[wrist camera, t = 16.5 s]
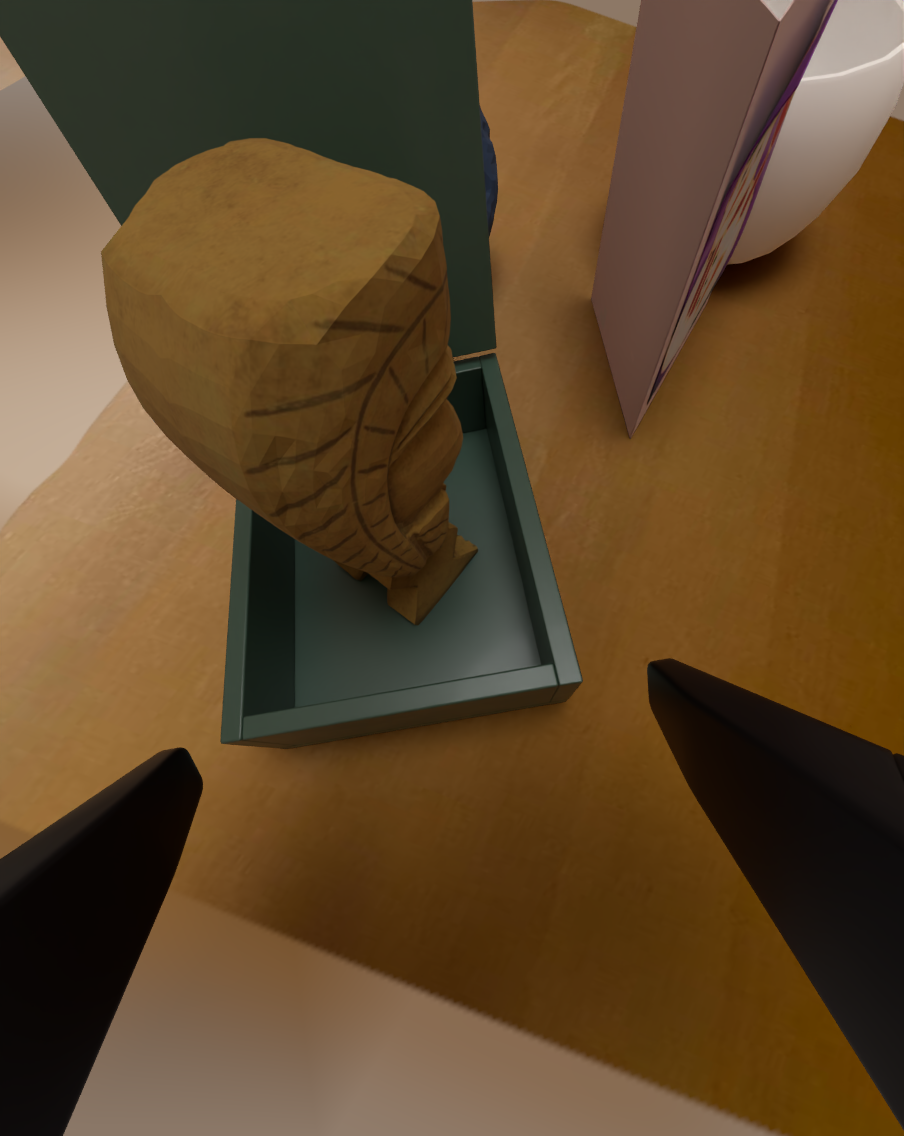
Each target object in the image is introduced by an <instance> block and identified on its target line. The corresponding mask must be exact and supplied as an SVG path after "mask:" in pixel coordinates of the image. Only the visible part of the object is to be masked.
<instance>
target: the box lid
mask: <svg viewBox="0 0 904 1136" xmlns="http://www.w3.org/2000/svg"><path fill="white" fill-rule="evenodd" d="M0 37H1V38H2V40H3V41H4V43H5V45H6V46H7V48H8V49H9V51H10V52H11V54H12V55H13V57H14V59H15V60H16V62H17V63H18V65H19V66H20V68H21V70H22V71H23V73H24V74H25V76H26V77H27V79H28V81H29V82H30V84H31V85H32V87H33V88H34V90H35V91H36V93H37V95H38V96H39V98H40V99H41V101H42V102H43V104H44V106H45V107H46V109H47V110H48V112H49V113H50V115H51V116H52V118H53V119H54V121H55V122H56V124H57V126H58V127H59V129H60V131H61V132H62V134H63V135H64V137H65V138H66V140H67V141H68V143H69V144H70V146H71V148H72V149H73V151H74V152H75V154H76V155H77V157H78V159H79V160H80V162H81V163H82V165H83V167H84V168H85V169H86V171H87V173H88V174H89V176H90V177H91V179H92V181H93V182H94V184H95V185H96V187H97V188H98V190H99V191H100V193H101V194H102V196H103V198H104V199H105V201H106V202H107V204H108V206H109V207H110V209H111V210H112V212H113V213H114V215H115V216H116V218H117V220H118V221H119V223H120V224H121V226H122V225H123V224H124V222H125V221H126V220H127V219H128V217H129V216H130V214H131V212H132V210H133V208H134V206H135V205H136V204H137V203H138V202H139V201H140V199H141V198H142V197H143V196H144V195H145V194H146V192H147V191H148V189H149V188H150V186H151V184H152V183H153V181H154V180H155V179H157V178H158V177H159V176H161V175H162V174H163V173H165V172H166V171H168V170H169V169H170V168H172V167H173V166H175V165H176V164H179V163H181V162H183V161H185V160H187V159H189V158H191V157H193V156H195V155H198V154H200V153H203V152H205V151H207V150H210V149H214V148H218V147H221V146H224V145H225V144H227V143H228V142H230V141H237V140H243V139H249V138H266V139H271V140H275V141H280V142H284V143H288V144H291V145H293V146H295V147H299V148H303V149H305V150H308V151H311V152H314V153H316V154H318V155H321V156H323V157H326V158H329V159H332V160H334V161H337V162H340V163H343V164H347V165H350V166H353V167H357V168H361V169H365V170H369V171H372V172H375V173H378V174H381V175H383V176H386V177H389V178H394V179H397V180H399V181H402V182H404V183H407V184H409V185H411V186H414V187H416V188H418V189H420V190H422V191H424V192H425V193H426V194H427V195H428V196H430V197H431V198H432V199H433V200H434V201H435V203H436V206H437V209H438V212H439V215H440V220H441V226H442V237H443V246H444V252H445V258H446V265H447V279H448V289H449V297H450V315H451V320H450V335H449V340H448V346H449V347H450V349H451V351H452V357H457V356H462V355H466V354H471V353H476V352H480V351H485V350H490V349H495V348H496V335H495V321H494V306H493V292H492V278H491V263H490V249H489V234H488V220H487V206H486V191H485V177H484V163H483V148H482V134H481V120H480V105H479V91H478V77H477V62H476V48H475V34H474V19H473V5H472V0H0Z"/></svg>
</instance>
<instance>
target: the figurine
mask: <svg viewBox="0 0 904 1136" xmlns="http://www.w3.org/2000/svg"><path fill="white" fill-rule="evenodd" d="M101 255H102V265H103V274H104V285H105V294H106V304H107V311H108V316H109V320H110V325H111V331H112V336H113V341H114V345H115V348H116V351H117V353H118V356H119V358H120V361H121V364H122V367H123V370H124V372H125V375H126V378H127V380H128V382H129V384H130V385H131V387H132V389H133V391H134V392H135V394H136V396H137V398H138V400H139V401H140V403H141V405H142V407H143V408H144V409H145V411H146V412H147V413H148V414H149V416H150V417H151V418H152V419H153V420H154V422H155V423H156V424H157V425H158V427H159V428H160V429H161V430H162V431H163V433H164V434H165V435H166V436H167V437H168V438H169V439H170V440H171V441H172V442H173V443H174V444H175V445H176V446H177V447H178V448H179V449H180V450H181V451H182V452H183V453H184V454H185V455H186V456H187V457H188V458H189V459H190V460H191V461H193V462H194V463H195V464H196V465H197V466H198V467H199V468H200V469H201V470H202V471H203V472H205V473H206V474H207V475H208V476H209V477H210V478H211V479H212V480H214V481H215V482H216V483H217V484H218V485H219V486H221V487H222V488H223V489H224V490H226V491H227V492H228V493H230V494H231V495H232V496H233V497H235V498H236V499H237V500H239V501H240V502H242V503H243V504H244V505H246V506H247V507H248V508H250V509H251V510H253V511H254V512H255V513H257V514H258V515H260V516H261V517H263V518H264V519H265V520H267V521H268V522H270V523H271V524H273V525H274V526H276V527H277V528H278V529H280V530H282V531H283V532H285V533H286V534H288V535H289V536H291V537H293V538H294V539H296V540H297V541H299V542H301V543H302V544H304V545H306V546H308V547H309V548H311V549H313V550H315V551H316V552H318V553H320V554H322V555H324V556H326V557H328V558H330V559H332V560H333V561H334V562H336V563H337V564H338V565H339V566H340V567H342V568H343V569H344V570H345V571H347V572H348V573H349V574H350V575H351V576H352V577H353V578H355V579H356V580H359V581H361V580H362V579H364V578H365V577H366V576H367V574H368V573H369V574H370V575H371V576H372V577H374V578H375V579H376V580H378V581H379V582H380V583H381V584H383V585H384V586H385V587H386V588H387V603H388V605H389V606H390V607H392V608H393V609H395V610H396V611H397V612H399V613H400V614H401V615H403V616H404V617H405V618H406V619H408V620H409V621H411V622H412V623H413V624H415V625H419V624H420V623H421V622H422V621H423V620H424V618H425V617H426V616H427V615H428V614H429V612H430V611H431V610H432V609H433V608H434V606H435V605H436V604H437V603H438V602H439V600H440V599H441V598H442V597H443V595H444V594H445V593H446V592H447V590H448V589H449V588H450V587H451V585H452V584H453V583H454V582H455V580H456V579H457V578H458V577H459V575H460V574H461V573H462V571H463V570H464V569H465V567H466V566H467V564H468V563H469V561H470V560H471V559H472V558H473V557H474V556H475V554H476V553H477V552H478V548H477V546H476V545H474V544H472V543H471V542H470V541H469V540H467V541H465V540H464V538H463V537H462V536H460V535H457V532H458V528H457V527H456V526H455V525H453V524H451V523H450V522H449V498H448V495H447V493H446V485H445V484H444V481H445V479H446V478H447V477H448V476H449V474H450V473H451V471H452V470H453V467H454V464H455V462H456V459H457V457H458V455H459V453H460V450H461V447H462V441H463V433H462V428H461V423H460V421H459V418H458V416H457V414H456V412H455V409H454V407H453V406H452V405H451V404H450V402H449V401H448V400H447V397H448V396H449V394H450V393H451V391H452V389H453V386H454V384H455V381H456V379H457V377H456V371H455V365H454V363H453V357H452V351H451V349H450V347H449V346H448V340H449V335H450V320H451V315H450V297H449V289H448V279H447V265H446V258H445V252H444V246H443V237H442V226H441V220H440V215H439V212H438V209H437V206H436V203H435V201H434V200H433V199H432V198H431V197H430V196H428V195H427V194H426V193H425V192H424V191H422V190H420V189H418V188H416V187H414V186H411V185H409V184H407V183H404V182H402V181H399V180H397V179H394V178H389V177H386V176H383V175H381V174H378V173H375V172H372V171H369V170H365V169H361V168H357V167H353V166H350V165H347V164H343V163H340V162H337V161H334V160H332V159H329V158H326V157H323V156H321V155H318V154H316V153H314V152H311V151H308V150H305V149H303V148H299V147H295V146H293V145H291V144H288V143H284V142H280V141H275V140H271V139H266V138H249V139H243V140H237V141H230V142H228V143H227V144H225V145H224V146H221V147H218V148H214V149H210V150H207V151H205V152H203V153H200V154H198V155H195V156H193V157H191V158H189V159H187V160H185V161H183V162H181V163H179V164H176V165H175V166H173V167H172V168H170V169H169V170H168V171H166V172H165V173H163V174H162V175H161V176H159V177H158V178H157V179H155V180H154V181H153V183H152V184H151V186H150V188H149V189H148V191H147V192H146V194H145V195H144V196H143V197H142V198H141V199H140V201H139V202H138V203H137V204H136V205H135V206H134V208H133V210H132V212H131V214H130V216H129V217H128V219H127V220H126V221H125V222H124V224H123V225H122V226H121V228H120V229H119V230H118V231H117V233H116V234H115V235H114V236H113V238H112V239H111V240H110V241H109V243H108V244H107V245H106V247H105V248H104V249H103V250H102V251H101Z"/></svg>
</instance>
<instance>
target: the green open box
mask: <svg viewBox="0 0 904 1136" xmlns="http://www.w3.org/2000/svg"><path fill="white" fill-rule="evenodd" d="M453 363H454V365H455V371H456V377H457V379H456V381H455V384H454V386H453V389H452V391H451V393H450V394H449V396H448V397H447V400H448V401H449V402H450V404H451V405H452V406H453V407H454V409H455V412H456V414H457V416H458V418H459V421H460V423H461V428H462V433H463V441H462V447H461V450H460V453H459V455H458V457H457V459H456V462H455V464H454V467H453V470H452V471H451V473H450V474H449V476H448V477H447V478H446V479H445V481H444V484H445V485H446V493H447V495H448V498H449V522H450V523H451V524H453V525H455V526H456V527H457V528H458V532H457V535H460V536H462V537H463V538H464V540H465V541H467V540H469V541H470V542H471V543H472V544H474V545H476V546H477V548H478V552H477V553H476V554H475V556H474V557H473V558H472V559H471V560H470V561H469V563H468V564H467V566H466V567H465V569H464V570H463V571H462V573H461V574H460V575H459V577H458V578H457V579H456V580H455V582H454V583H453V584H452V585H451V587H450V588H449V589H448V590H447V592H446V593H445V594H444V595H443V597H442V598H441V599H440V600H439V602H438V603H437V604H436V605H435V606H434V608H433V609H432V610H431V611H430V612H429V614H428V615H427V616H426V617H425V618H424V620H423V621H422V622H421V623H420V624H419V625H415V624H413V623H412V622H411V621H409V620H408V619H406V618H405V617H404V616H403V615H401V614H400V613H399V612H397V611H396V610H395V609H393V608H392V607H390V606H389V605H388V603H387V588H386V587H385V586H384V585H383V584H381V583H380V582H379V581H378V580H376V579H375V578H374V577H372V576H371V575H370V574H369V573H368V574H367V576H366V577H365V578H364V579H362V580H361V581H359V580H356V579H355V578H353V577H352V576H351V575H350V574H349V573H348V572H347V571H345V570H344V569H343V568H342V567H340V566H339V565H338V564H337V563H336V562H334V561H333V560H332V559H330V558H328V557H326V556H324V555H322V554H320V553H318V552H316V551H315V550H313V549H311V548H309V547H308V546H306V545H304V544H302V543H301V542H299V541H297V540H296V539H294V538H293V537H291V536H289V535H288V534H286V533H285V532H283V531H282V530H280V529H278V528H277V527H276V526H274V525H273V524H271V523H270V522H268V521H267V520H265V519H264V518H263V517H261V516H260V515H258V514H257V513H255V512H254V511H253V510H251V509H250V508H248V507H247V506H246V505H244V504H243V503H242V502H240V501H239V500H237V499H236V511H235V526H234V542H233V557H232V572H231V588H230V603H229V619H228V634H227V649H226V665H225V680H224V695H223V711H222V726H221V743H222V744H231V745H244V746H257V747H270V748H282V749H289V748H295V747H301V746H307V745H313V744H318V743H324V742H330V741H336V740H342V739H348V738H354V737H360V736H366V735H372V734H377V733H383V732H389V731H395V730H401V729H407V728H413V727H419V726H425V725H431V724H437V723H442V722H448V721H454V720H460V719H466V718H472V717H478V716H484V715H490V714H496V713H502V712H507V711H513V710H519V709H525V708H531V707H537V706H543V705H549V704H555V703H561V702H566V701H567V700H568V699H569V698H570V697H571V695H572V694H573V693H574V692H575V690H576V689H577V688H578V687H579V685H580V684H581V683H582V682H583V679H582V675H581V672H580V668H579V664H578V660H577V657H576V653H575V649H574V645H573V642H572V638H571V634H570V630H569V627H568V623H567V619H566V615H565V612H564V608H563V604H562V600H561V597H560V593H559V589H558V585H557V582H556V578H555V574H554V570H553V567H552V563H551V559H550V555H549V552H548V548H547V544H546V540H545V537H544V533H543V529H542V526H541V522H540V518H539V514H538V511H537V507H536V503H535V499H534V496H533V492H532V488H531V484H530V481H529V477H528V473H527V469H526V466H525V462H524V458H523V454H522V451H521V447H520V443H519V439H518V436H517V432H516V428H515V424H514V421H513V417H512V413H511V409H510V406H509V402H508V398H507V394H506V391H505V387H504V383H503V379H502V376H501V372H500V368H499V364H498V361H497V357H496V354H495V353H492V354H487V355H482V356H479V357H473V358H468V359H464V360H459V361H454V362H453Z"/></svg>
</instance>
